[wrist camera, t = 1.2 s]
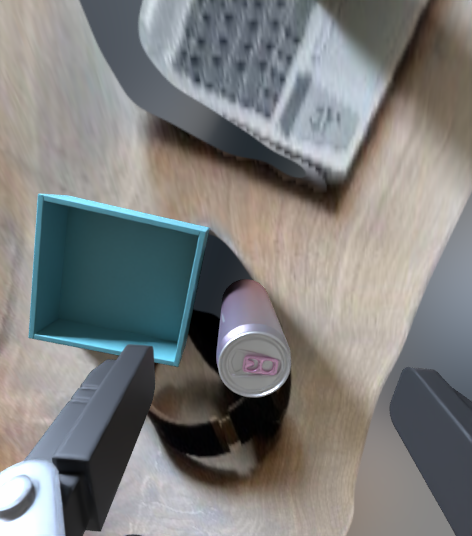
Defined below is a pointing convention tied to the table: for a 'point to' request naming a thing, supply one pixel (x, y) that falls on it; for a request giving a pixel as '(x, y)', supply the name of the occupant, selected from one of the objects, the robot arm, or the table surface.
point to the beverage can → (251, 342)
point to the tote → (113, 277)
